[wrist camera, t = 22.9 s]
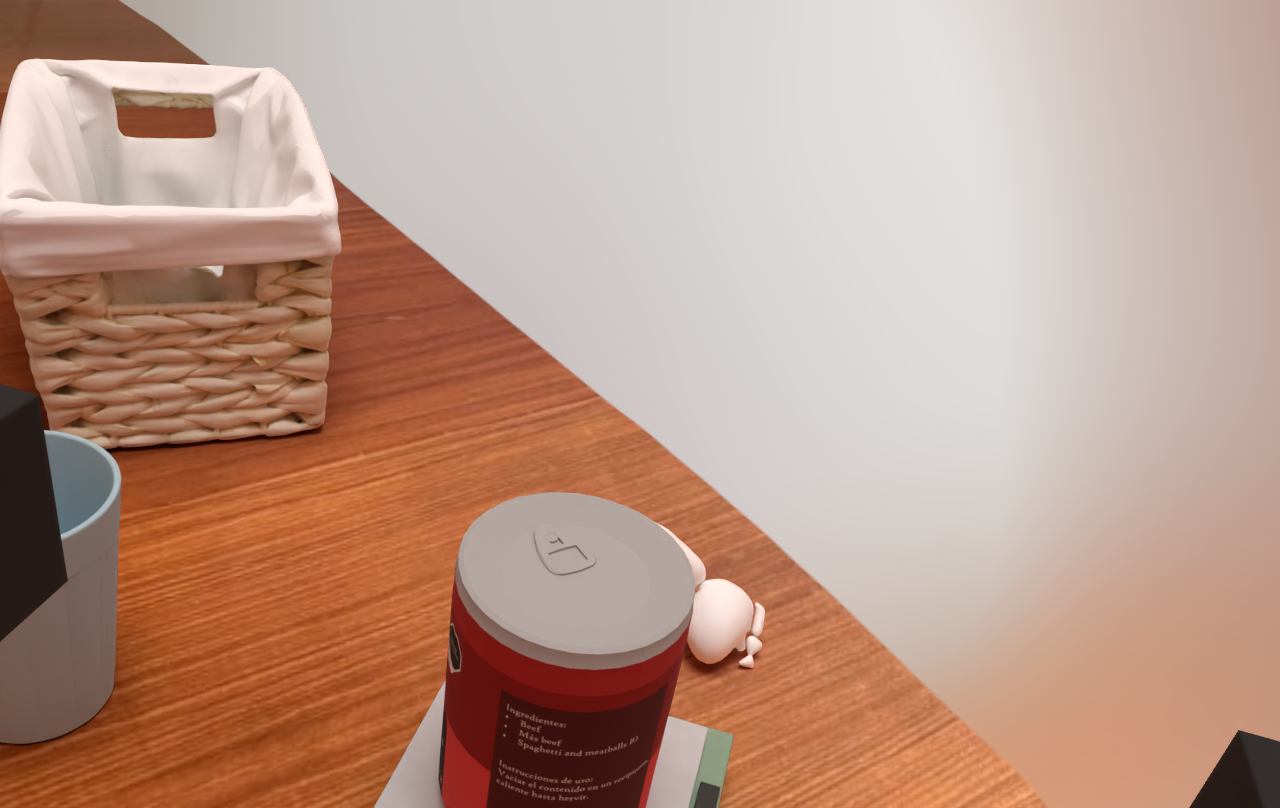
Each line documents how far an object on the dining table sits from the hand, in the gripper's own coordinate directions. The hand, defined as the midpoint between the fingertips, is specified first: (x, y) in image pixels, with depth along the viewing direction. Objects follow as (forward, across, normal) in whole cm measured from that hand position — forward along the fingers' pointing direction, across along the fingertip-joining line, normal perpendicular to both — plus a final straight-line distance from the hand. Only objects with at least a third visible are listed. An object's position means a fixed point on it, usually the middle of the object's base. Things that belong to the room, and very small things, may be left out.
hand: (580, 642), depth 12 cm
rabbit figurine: (+30, -1, -28) cm, 42 cm away
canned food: (+18, -4, -25) cm, 31 cm away
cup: (+18, -25, -28) cm, 41 cm away
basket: (+43, -35, -28) cm, 63 cm away
